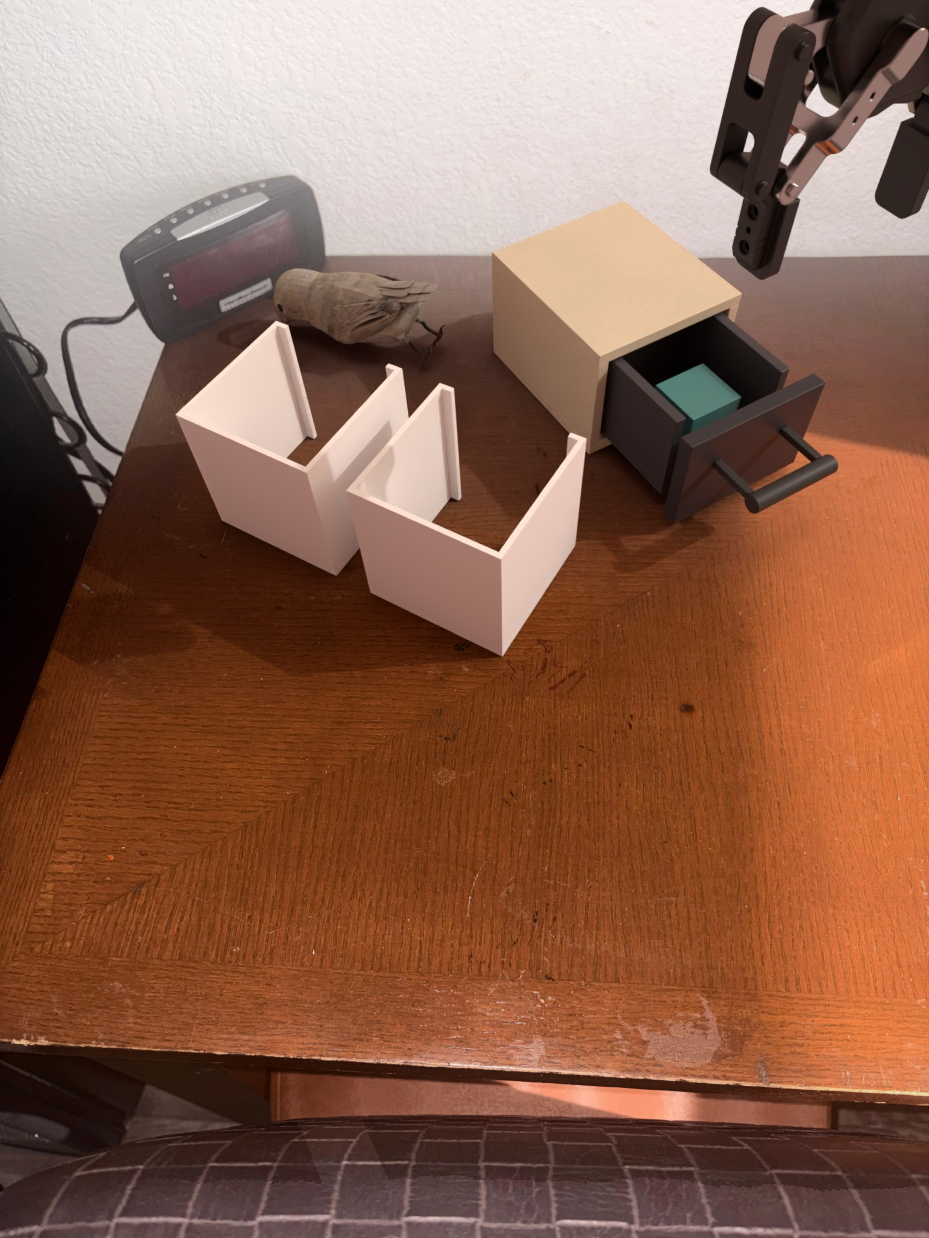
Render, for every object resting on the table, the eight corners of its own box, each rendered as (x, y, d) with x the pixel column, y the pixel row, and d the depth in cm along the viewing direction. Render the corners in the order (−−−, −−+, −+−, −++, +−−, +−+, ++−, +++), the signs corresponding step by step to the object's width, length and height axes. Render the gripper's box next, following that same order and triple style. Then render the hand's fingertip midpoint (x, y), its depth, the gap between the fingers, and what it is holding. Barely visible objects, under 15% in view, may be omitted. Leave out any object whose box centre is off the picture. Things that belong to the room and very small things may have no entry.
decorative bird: (296, 306, 80) (279, 232, 74) (453, 342, 76) (449, 268, 70) (268, 341, 77) (247, 268, 71) (429, 381, 73) (422, 308, 67)
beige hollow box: (715, 395, 71) (742, 293, 63) (588, 455, 68) (599, 356, 60) (611, 302, 78) (624, 200, 70) (493, 352, 75) (491, 251, 67)
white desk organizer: (221, 520, 66) (175, 414, 56) (306, 431, 71) (276, 320, 61) (502, 656, 58) (501, 559, 49) (575, 545, 63) (586, 438, 54)
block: (692, 407, 67) (702, 363, 64) (728, 440, 65) (741, 396, 61) (647, 428, 66) (655, 384, 62) (682, 463, 64) (693, 420, 60)
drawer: (839, 503, 63) (878, 424, 56) (715, 570, 60) (741, 495, 53) (683, 363, 72) (700, 281, 65) (569, 415, 69) (575, 335, 62)
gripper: (912, -171, 22) (761, 337, 36) (1256, -271, 26) (1000, 227, 39) (727, -231, 26) (653, 250, 40) (1049, -311, 30) (880, 156, 43)
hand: (826, 238), depth 39 cm, fingers open, 8 cm apart
